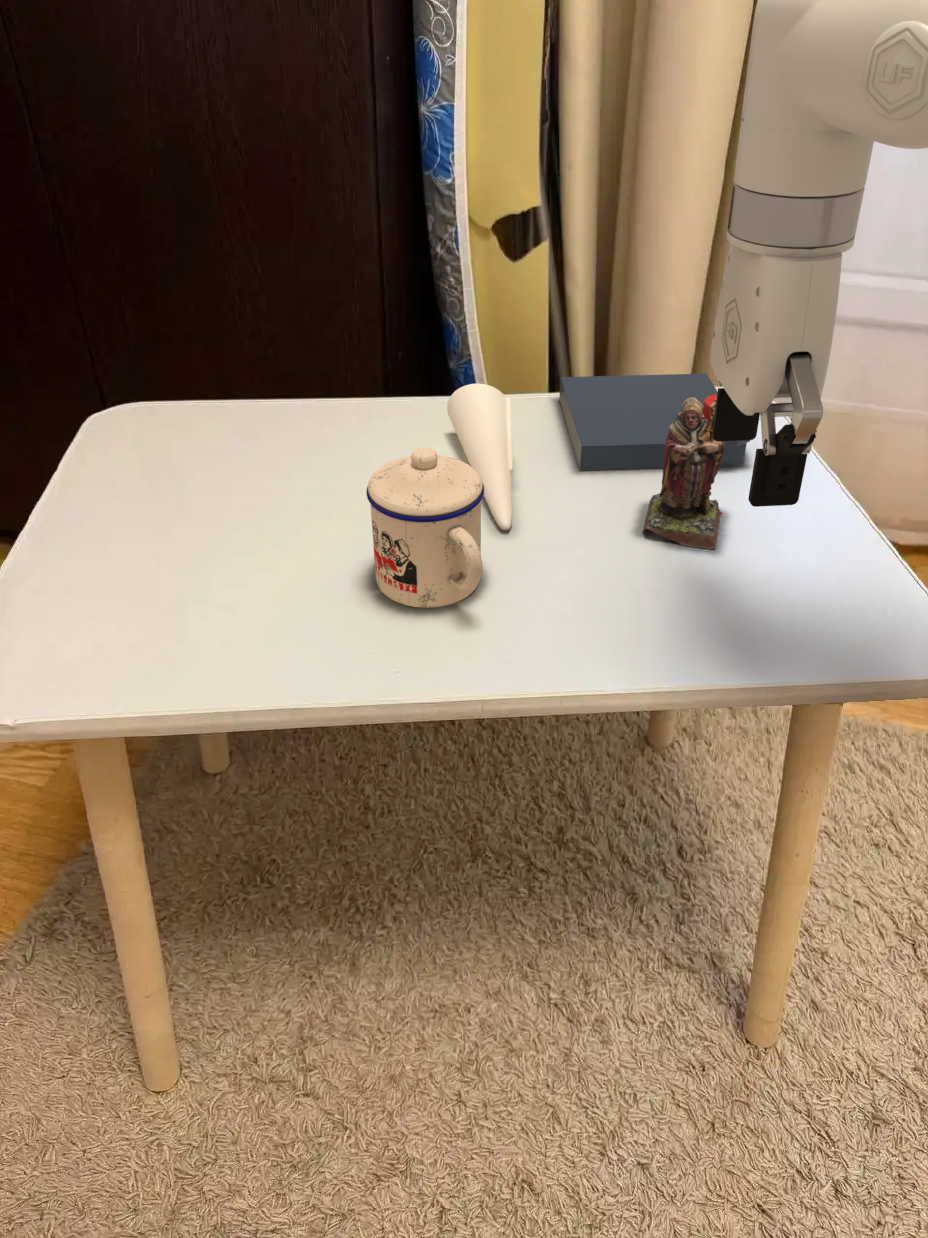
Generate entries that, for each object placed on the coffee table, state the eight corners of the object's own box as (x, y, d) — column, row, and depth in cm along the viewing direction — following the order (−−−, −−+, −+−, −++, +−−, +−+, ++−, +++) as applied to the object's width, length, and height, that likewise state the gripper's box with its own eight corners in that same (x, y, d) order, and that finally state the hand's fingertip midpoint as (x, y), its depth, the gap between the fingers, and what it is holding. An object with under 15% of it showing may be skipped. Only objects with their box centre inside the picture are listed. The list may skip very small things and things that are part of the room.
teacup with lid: (353, 569, 83) (342, 443, 76) (446, 537, 87) (444, 415, 80) (426, 645, 75) (421, 512, 68) (525, 606, 78) (530, 477, 71)
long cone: (439, 548, 88) (444, 429, 102) (510, 554, 89) (506, 434, 103) (444, 496, 84) (449, 380, 98) (518, 503, 85) (513, 386, 99)
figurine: (649, 503, 91) (663, 380, 84) (722, 512, 90) (742, 388, 82) (640, 539, 86) (654, 412, 79) (716, 549, 85) (737, 421, 78)
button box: (712, 396, 109) (718, 357, 107) (756, 471, 96) (764, 428, 93) (559, 400, 109) (561, 360, 106) (581, 476, 95) (584, 433, 92)
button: (734, 409, 97) (737, 393, 96) (744, 426, 94) (747, 409, 93) (698, 410, 97) (700, 394, 96) (707, 427, 94) (709, 410, 93)
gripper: (697, 184, 67) (672, 420, 77) (773, 260, 53) (731, 535, 63) (807, 180, 67) (768, 415, 77) (913, 254, 53) (848, 530, 63)
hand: (751, 469), depth 70 cm, fingers open, 9 cm apart
